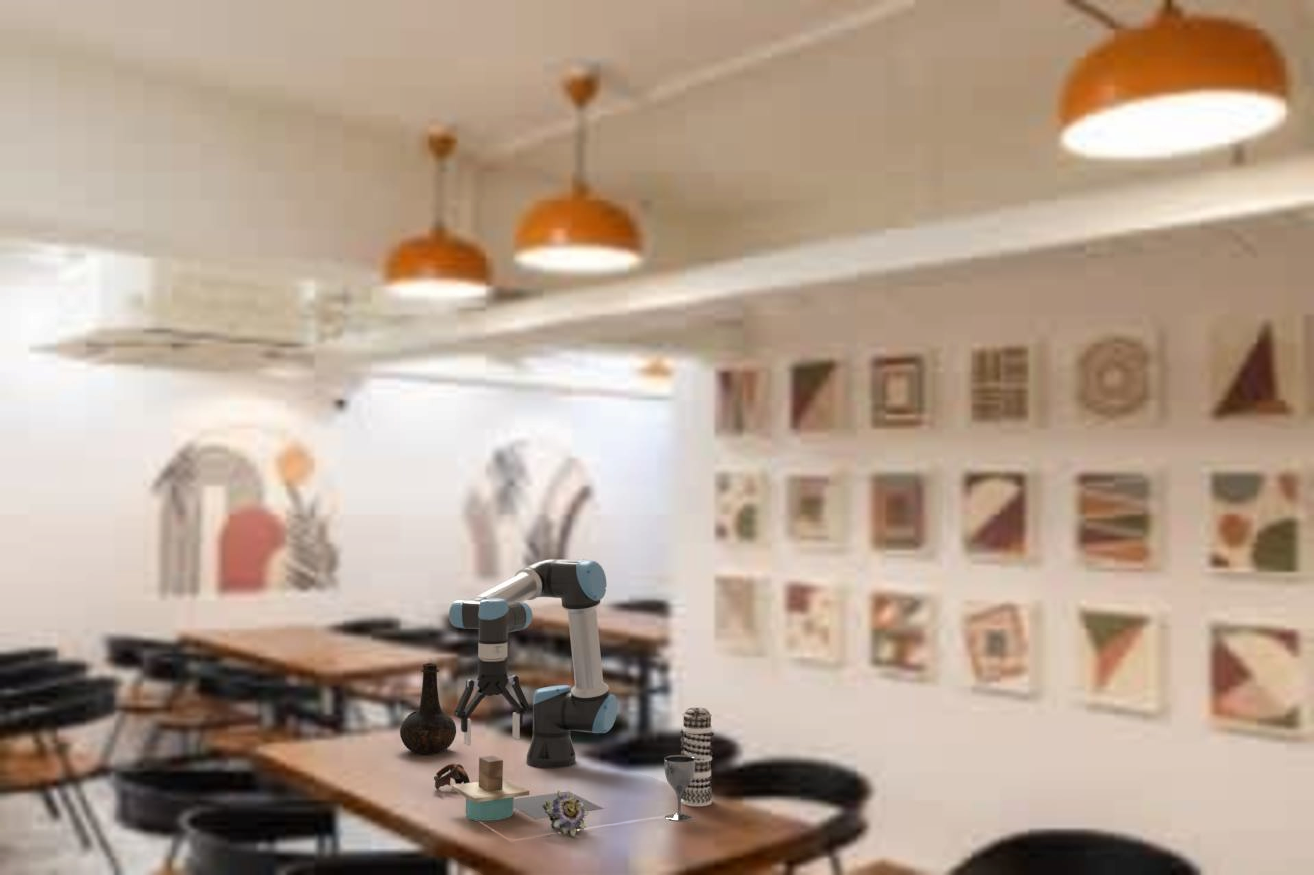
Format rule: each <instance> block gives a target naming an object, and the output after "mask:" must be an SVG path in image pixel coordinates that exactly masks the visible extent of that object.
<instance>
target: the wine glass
mask: <svg viewBox="0 0 1314 875" xmlns="http://www.w3.org/2000/svg"><path fill="white" fill-rule="evenodd" d="M663 763H664V773H665V774H664V775H665V778H666V781H667V783H668V784H669V785H670V787H671V788H672V790H674V792H675V795H676V801H677V811H676V813H669V814H667V815H665V819H666V820H668V821H672V822H687V821H691V820H692V819H694V817H693V815H691V814H688V813H683V812H682V810H681V809H682V808H681V805H682V803H681V799H682V794H683V792H684V790H685V789H686V788H687V787H688V786H689V784H690V783H691V782H692V780H693V776H694V771H695V758H694V757H691V756H685V755H681V754H676V755H675V754H674V755H668V756H664V762H663Z"/></svg>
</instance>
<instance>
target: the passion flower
mask: <svg viewBox="0 0 1314 875" xmlns="http://www.w3.org/2000/svg"><path fill="white" fill-rule="evenodd" d="M556 793H557V798H556V800H554V801H553V806H552V807H550V806H549V804H551V803H552V802H549V801H546V806H545V804H544V805H543V808H544V809H545V812H546V813H547V814H548V815H549V817H548V818H549V819H548V820H550V822H551V824H550V826H551V828H552V829H553V828H557V827H559V830H560V833H561V834H562V835H563V836H565V835H566V834H567V835H569V836H570V837H571V838H573V837H575V835H576V832H577V828H579V829H580V830H581V829H582V830H584V829H585V820H584V819H586V816H588V815H589V814H590V811H585V810H584V809H583V805H584V804H583V803H578V802H579V800H578V799H577V800H576V801H575V798H574V794H575V793H573V794H572V795H570V796H569V797H568V798H567V795H566V794H565V796H564V795H562V791H561V790H557V792H556ZM547 806H548V807H549V808H548V809H547ZM550 815H551V816H550Z"/></svg>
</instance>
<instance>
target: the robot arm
mask: <svg viewBox="0 0 1314 875" xmlns="http://www.w3.org/2000/svg"><path fill="white" fill-rule="evenodd" d="M606 588H607V578H606V573H605V571H604V568H603V566H602V565H601V564H600V563H599V562H597V561H595V560H587V559H570V558H569V559H562V558H561V559H560V558H548V559H544V560H540V561H537V562H535V563H532V564H530V565H528V566H526V567H523V568H522V569H520V570H518V571H517V572H516V573H515V575H514V576H513V577H511V578H510V579H508V580H506V581H504V582H502V583H500V584H498V585H496V586H494V587H493V588H490V589H489V590H486V591H484V592H483V593H481V594H479V595H477V596H475V597H473V598H471V599H468V600H466V599H457V600H455V601H453V603H452V604H451V605H450V608H449V612H448V615H449V616H448V617H449V622H450V624H451V625H452V626H453V627H455V628H460V629H464V630H465V629H468V630H471V629H472V630H474V629H475V630H478V644H477V646H478V650H477V652H478V654H477V657H478V659H479V660H478V661H477V663H478V665H477V673H478V678H477V679H470V678H467V679H466V681H465V689H464V690H463V693H462V695H461V697H460V698H459V700H458V703H457V706H456V708H455V710H454V712H453V716H454V717H456V718H458V719H460V731H461V732H463V744H464V745H466V746H468V747H469V746H471V745H472V720H471V718H469V717H470V716H471V715H472V714H473V712H474V711H475V709H476V708H477V707H478V705H479V704H480V703H481V702H482V701H483V699H484V698H485V697H486V696H487V697H491V696H500V694H501V695H502V696H503V698H504V699H505V700H506V701H507V703H508V704H509V705H510V706H511V708H513V710H514V711H515V712H512V739H515V740H520V738H521V737H520V736H521V735H520V728H521V727H520V726H522V725H523V722H524V721H523V720H524V719H523V718H524V717H523V715H524V714H525V712H526V711H529V710H530V709H531V708H530V705H529V702H528V701H527V700H528V699H527V698H526V696H525V693H524V691H523V689H522V688H521V685H520V681H519V680H520V679H519V676H518V675H515V674H511V675H510V676H508V660H507V658H508V647H509V646H508V642H509V640H508V637H509V636H508V635H509V634H508V633H512V632H517V631H521V630H524V629H526V628H528V627H529V626H530V625H531V623H532V621H533V611H532V609H531V606H530V605H529V604H528V603H526V602H525V601H531V600H535V599H537V598H555V599H556V598H557V599H561V600H560V601H561V607H562V608H563V610H565V611H567V618H568V627H569V638H570V649H571V659H572V668H573V669H572V670H573V677H574V686H571V685H567V684H565V685H564V684H562V685H553V686H546V687H541V688H538V689H536V690H535V691H534V693H533V702H532V737H531V741H530V745H529V747H528V750H527V754H526V764H527V765H528V766H529V765H530V766H532V767H538V768H549V769H550V768H551V769H552V768H554V769H555V768H562V767H563V768H565V767H568V766H573V765H575V764H576V757H577V756H576V752H575V749H574V745H573V741H572V739H571V738H572V737H571V731H572V732H573V731H576V732H584V733H593V734H606V733H607V732H609V731H610V730H611V729H612V728H613V727H614V723H615V721H616V718H617V715H618V708H619V703H618V698H617V696H616V695H614V694H612V693H611V694H610V689H609V688H610V686H609V685H608V684H607V683H606V682H604V677H603V676H604V675H603V665H602V656H601V647H600V646H601V644H600V636H599V634H600V633H599V626H598V616H597V608H598V607H599V606H600V605H601V600H602V599H603V598H604V597H605V594H606V593H607V589H606ZM508 683H509V685H511V687H512V689H513V691H514V694H515V696H516V698H517V700H518V702H519V703H518V702H517V700H516V699H515V698H514V697H513V695H512V694H511V693H510V691H509V690H508V689H507V685H508ZM476 686H477V687H478V689H477V691H476V692H475V694H474V696H473V698H472V699H471V697H472V694H473V692H474V689H475V688H476ZM470 699H471V700H470Z"/></svg>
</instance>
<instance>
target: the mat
mask: <svg viewBox="0 0 1314 875" xmlns="http://www.w3.org/2000/svg"><path fill="white" fill-rule="evenodd" d="M561 792H562V791H561ZM565 794H566V795H567V798H568V797H569V796H570V795H572V794H574V798H575V801H576V800H577V799H578V800H579V802H578V803H583V804H584V805H583V809H584V810H585V811H588V812H591V811H598V810H603V809H604V808H603V807H601V806H599V805H598V804H595V803H593V802H592V801H589V800H587V799H585V798H584V797H581V796H579V795H577V794H575V793H572V792H571V791H563V792H562V795H564V796H565ZM556 798H557V792H553V793H548V794H547V793H546V794H540V795H533V796H532V795H531V796H527V797H525V796H523V797H518V798H517V797H516V798H514V808H515V809H516V810H518V811H519V812H521V813H523V814H524V815H527V816H529V817H530V818H532V819H533V820H538V819H545V818H550V817H549V815H548V814H547V813H546V812H545V809H544V808H543V805H544V804H545V806H546V801H549V802H552V803H551V804H549V806H550V807H552V806H553V801H554V800H556ZM548 808H549V807H548V806H547V809H548ZM550 816H551V815H550Z"/></svg>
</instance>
